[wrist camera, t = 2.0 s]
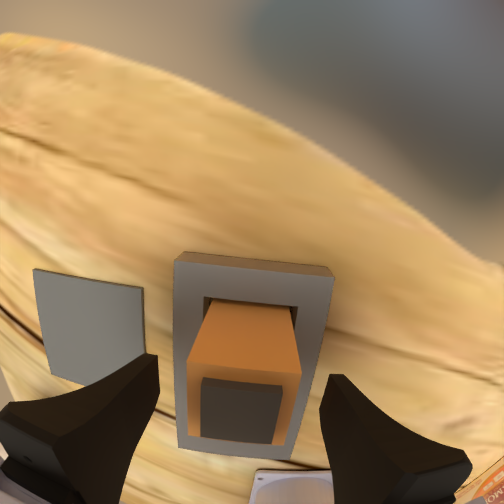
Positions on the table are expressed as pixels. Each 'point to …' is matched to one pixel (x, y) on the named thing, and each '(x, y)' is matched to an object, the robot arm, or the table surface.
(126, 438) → the robot arm
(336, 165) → the table surface
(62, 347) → the mat
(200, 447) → the grey flat frame
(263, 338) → the plug
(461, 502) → the coffeecake box
